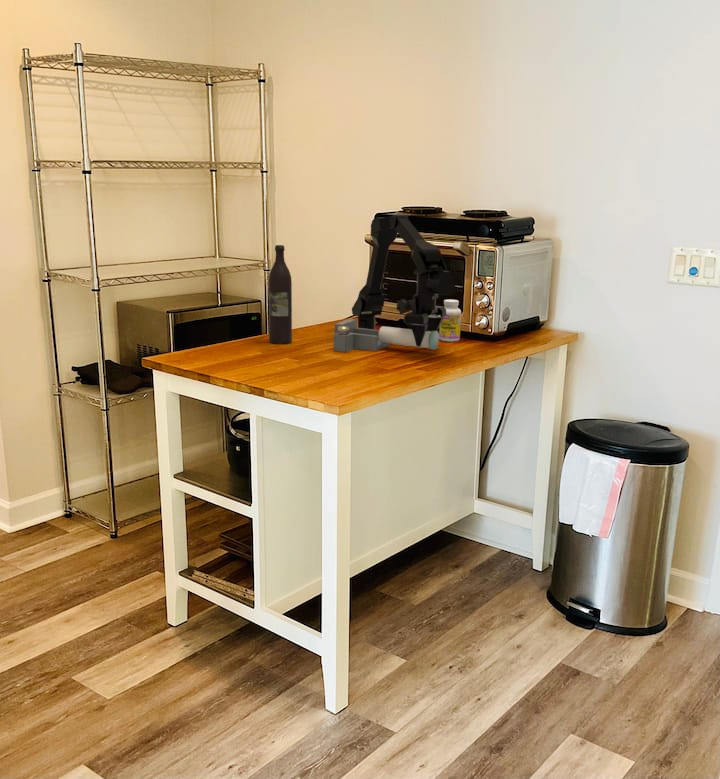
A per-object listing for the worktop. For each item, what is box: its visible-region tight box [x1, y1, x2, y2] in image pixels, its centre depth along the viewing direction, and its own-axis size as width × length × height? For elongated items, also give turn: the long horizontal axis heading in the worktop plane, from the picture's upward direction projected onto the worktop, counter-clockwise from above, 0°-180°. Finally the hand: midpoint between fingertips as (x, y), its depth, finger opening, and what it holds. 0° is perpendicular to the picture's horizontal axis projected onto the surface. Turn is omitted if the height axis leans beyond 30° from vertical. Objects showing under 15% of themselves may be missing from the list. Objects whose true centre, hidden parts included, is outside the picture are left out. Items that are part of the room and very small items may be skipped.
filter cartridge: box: [378, 325, 440, 351], centre depth 243 cm, size 6×18×6 cm, turn 63°
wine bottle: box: [268, 244, 293, 345], centre depth 250 cm, size 7×7×30 cm
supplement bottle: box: [438, 299, 462, 343], centre depth 260 cm, size 7×7×13 cm
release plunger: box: [338, 326, 349, 335], centre depth 243 cm, size 3×3×6 cm
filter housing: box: [333, 318, 390, 353], centre depth 247 cm, size 16×14×7 cm
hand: (424, 343), depth 241 cm, fingers open, 9 cm apart
